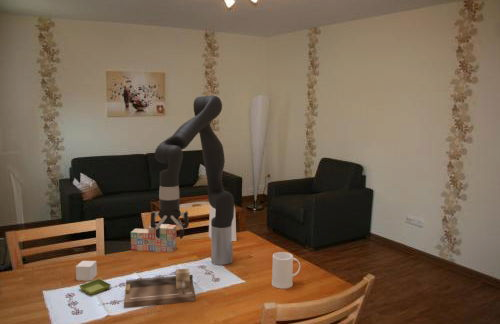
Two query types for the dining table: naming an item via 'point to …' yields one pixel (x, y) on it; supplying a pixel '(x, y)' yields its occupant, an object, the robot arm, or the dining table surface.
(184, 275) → the gauge
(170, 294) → the tray
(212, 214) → the milk
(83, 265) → the white cube
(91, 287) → the green square dish
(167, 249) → the stack of blocks
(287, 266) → the mug
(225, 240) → the robot arm
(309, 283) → the dining table surface
